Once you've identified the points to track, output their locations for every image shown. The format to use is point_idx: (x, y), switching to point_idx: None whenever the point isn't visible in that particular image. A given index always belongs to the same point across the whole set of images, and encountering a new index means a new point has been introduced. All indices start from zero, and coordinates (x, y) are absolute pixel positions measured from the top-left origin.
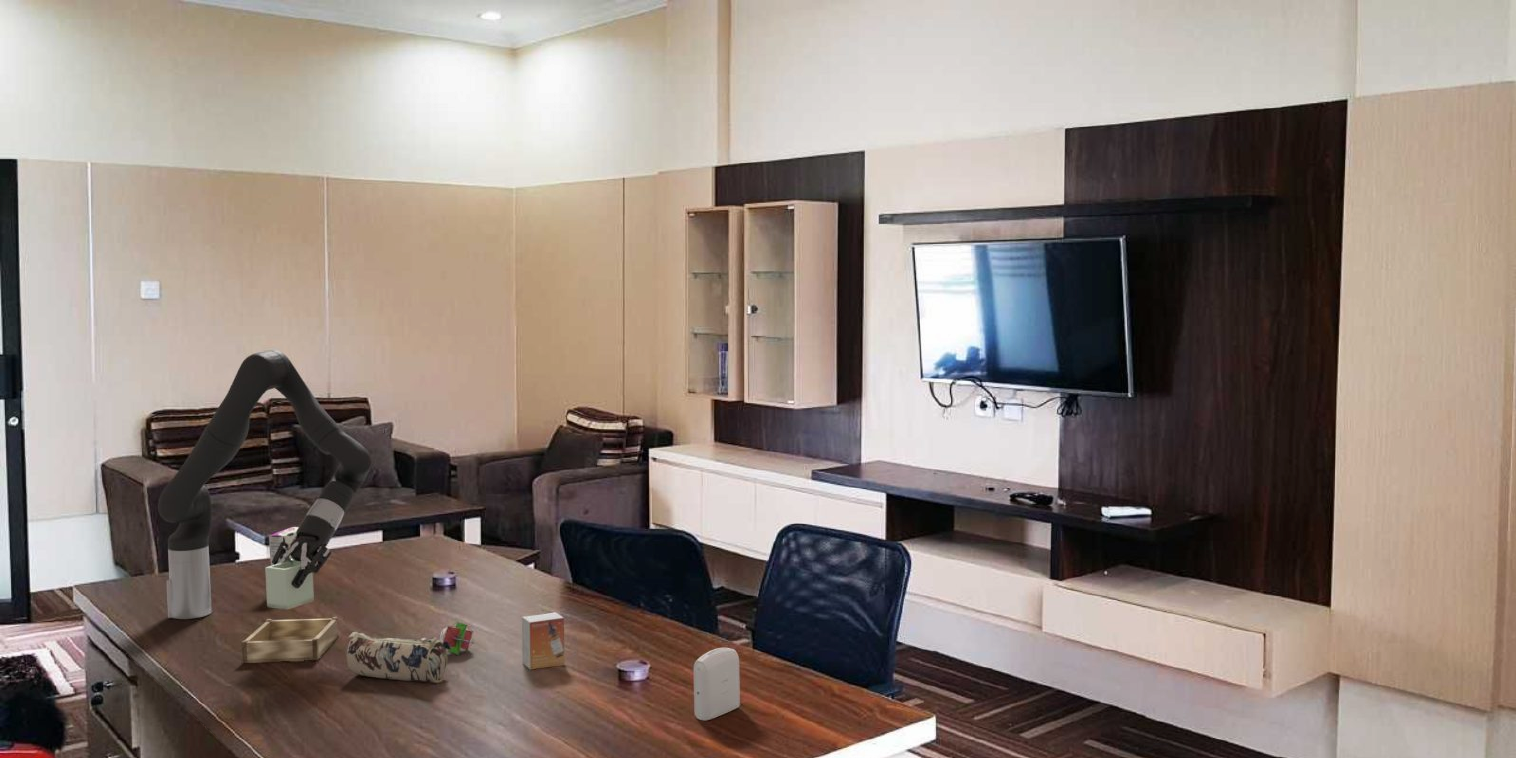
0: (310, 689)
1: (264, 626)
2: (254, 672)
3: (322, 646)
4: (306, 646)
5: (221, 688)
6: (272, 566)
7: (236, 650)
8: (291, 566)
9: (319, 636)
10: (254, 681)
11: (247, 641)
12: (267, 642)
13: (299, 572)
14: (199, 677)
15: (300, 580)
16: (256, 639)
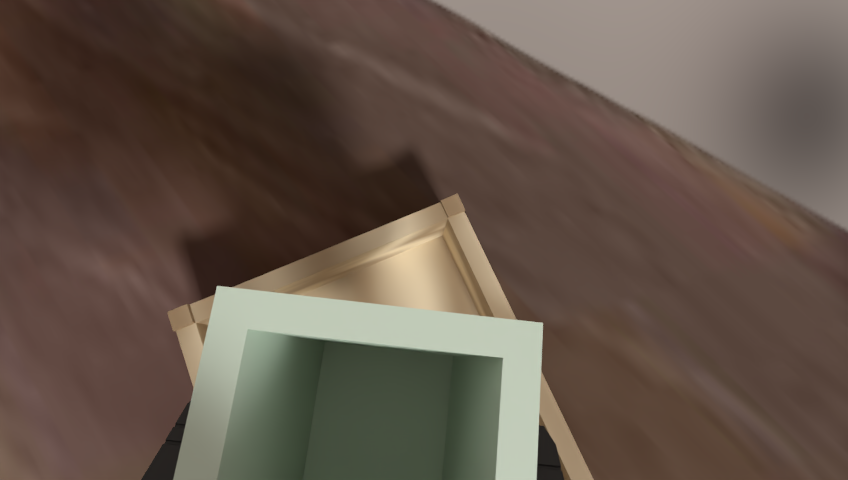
0: (68, 76)
1: (549, 428)
2: (343, 154)
3: None
4: None
5: (337, 20)
6: (500, 399)
7: (581, 331)
8: None
9: (193, 369)
10: (284, 89)
11: (445, 211)
12: (365, 233)
13: (173, 476)
14: (472, 75)
15: None
16: (487, 314)
